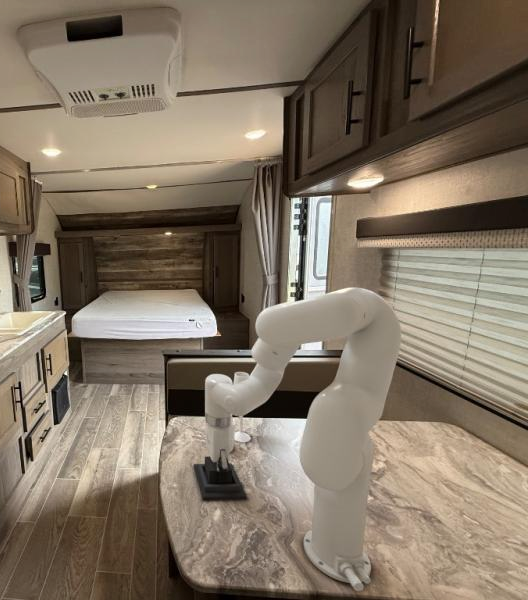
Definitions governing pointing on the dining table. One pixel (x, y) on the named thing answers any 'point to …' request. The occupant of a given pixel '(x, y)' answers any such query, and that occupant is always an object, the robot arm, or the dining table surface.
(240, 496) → the base pad
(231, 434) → the white cup
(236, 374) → the champagne flute
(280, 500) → the dining table surface
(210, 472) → the black pad
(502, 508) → the dining table surface
